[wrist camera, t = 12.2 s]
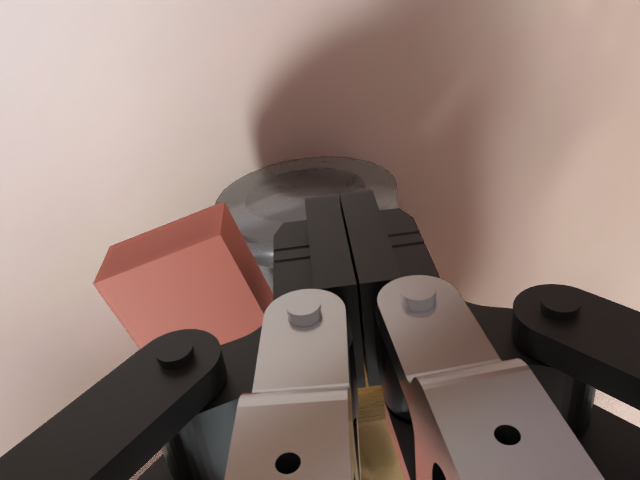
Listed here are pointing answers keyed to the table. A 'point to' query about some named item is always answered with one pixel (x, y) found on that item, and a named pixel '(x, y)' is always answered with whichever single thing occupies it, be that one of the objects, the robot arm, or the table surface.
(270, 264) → the valve pipe
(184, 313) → the lever
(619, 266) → the table surface
